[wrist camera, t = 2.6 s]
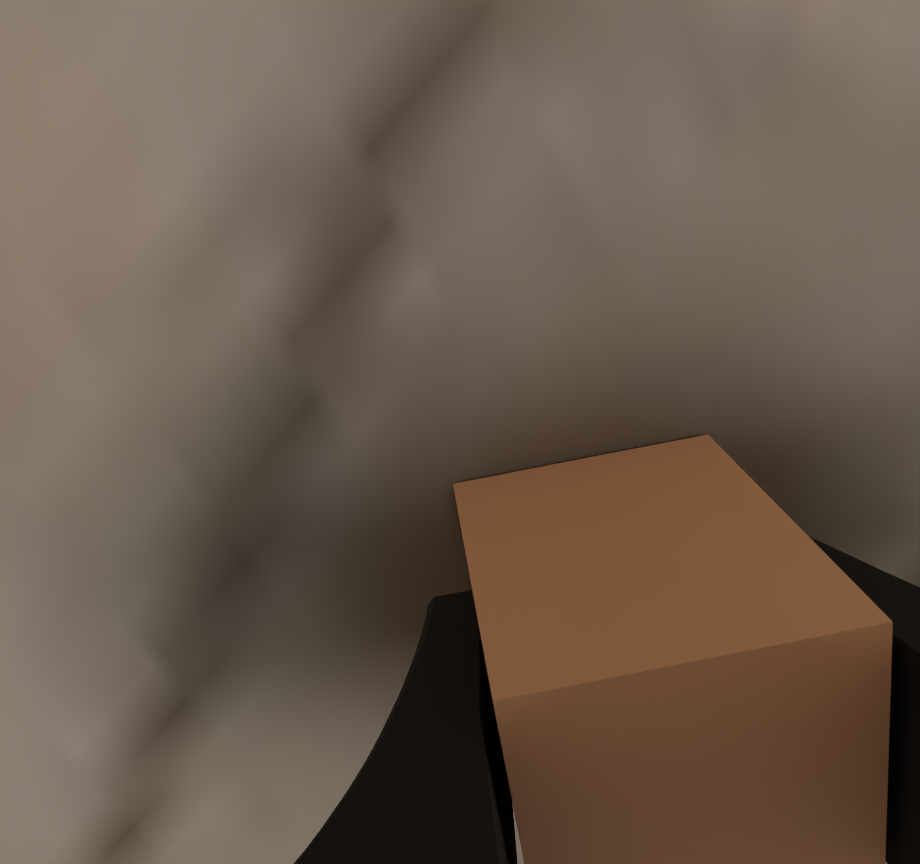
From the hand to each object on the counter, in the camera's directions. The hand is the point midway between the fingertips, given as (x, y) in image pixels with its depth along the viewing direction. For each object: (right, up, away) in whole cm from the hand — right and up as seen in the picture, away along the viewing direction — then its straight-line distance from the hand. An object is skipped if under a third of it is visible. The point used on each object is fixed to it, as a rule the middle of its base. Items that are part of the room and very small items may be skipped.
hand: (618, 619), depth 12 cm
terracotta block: (0, +1, +1) cm, 1 cm away
